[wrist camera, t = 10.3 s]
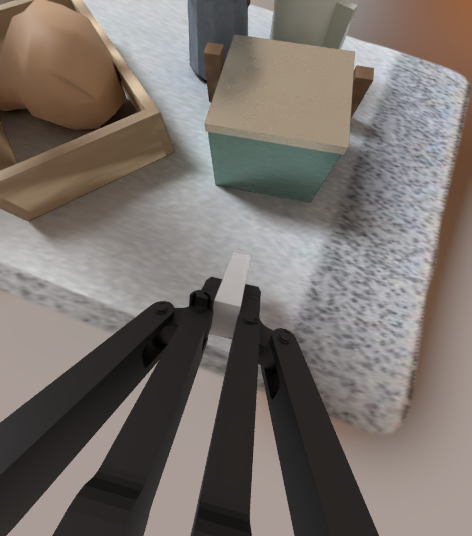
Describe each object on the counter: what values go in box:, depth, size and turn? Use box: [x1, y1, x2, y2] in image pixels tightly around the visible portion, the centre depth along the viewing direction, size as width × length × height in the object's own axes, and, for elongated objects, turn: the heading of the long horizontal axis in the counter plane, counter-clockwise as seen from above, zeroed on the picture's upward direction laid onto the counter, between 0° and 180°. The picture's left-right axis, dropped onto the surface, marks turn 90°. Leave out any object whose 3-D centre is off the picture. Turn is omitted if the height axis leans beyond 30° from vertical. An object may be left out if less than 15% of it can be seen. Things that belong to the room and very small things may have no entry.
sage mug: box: [270, 0, 358, 49], centre depth 25 cm, size 10×8×9 cm
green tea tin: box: [204, 34, 355, 202], centre depth 21 cm, size 12×12×8 cm
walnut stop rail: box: [203, 42, 374, 118], centre depth 25 cm, size 20×2×5 cm, turn 77°
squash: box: [0, 0, 126, 130], centre depth 23 cm, size 11×20×9 cm, turn 84°
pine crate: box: [0, 0, 174, 221], centre depth 24 cm, size 28×19×5 cm
